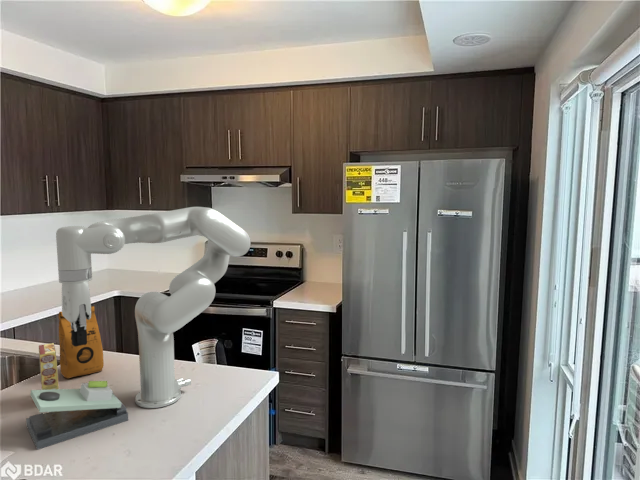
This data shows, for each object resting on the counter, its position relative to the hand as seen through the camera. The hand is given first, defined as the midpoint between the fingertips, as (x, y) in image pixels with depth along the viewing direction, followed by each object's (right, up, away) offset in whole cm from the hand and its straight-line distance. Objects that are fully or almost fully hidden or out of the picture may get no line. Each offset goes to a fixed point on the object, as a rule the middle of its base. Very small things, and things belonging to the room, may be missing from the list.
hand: (79, 344), depth 119 cm
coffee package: (-16, -17, +33) cm, 41 cm away
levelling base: (-1, -21, +2) cm, 21 cm away
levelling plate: (-1, -15, +1) cm, 15 cm away
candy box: (-16, -20, +15) cm, 29 cm away
